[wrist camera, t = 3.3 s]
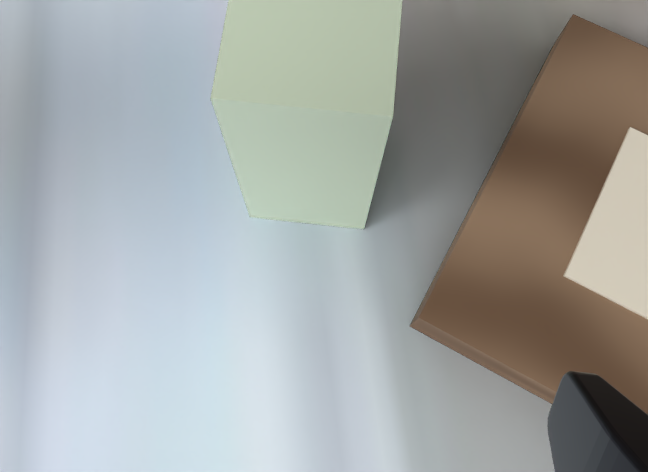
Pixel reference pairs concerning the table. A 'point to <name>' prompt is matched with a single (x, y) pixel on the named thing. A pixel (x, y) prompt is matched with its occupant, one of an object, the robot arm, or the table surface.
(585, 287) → the base board
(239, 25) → the pillar block
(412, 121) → the table surface
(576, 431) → the robot arm
